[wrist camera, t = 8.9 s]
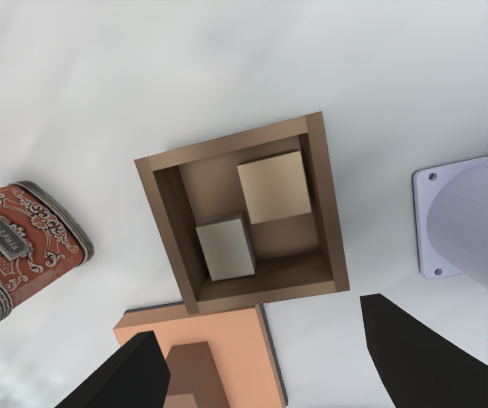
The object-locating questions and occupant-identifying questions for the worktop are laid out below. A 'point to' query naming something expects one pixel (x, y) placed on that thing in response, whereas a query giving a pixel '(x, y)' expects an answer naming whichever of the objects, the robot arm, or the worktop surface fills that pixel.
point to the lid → (211, 356)
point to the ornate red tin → (35, 243)
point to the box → (249, 216)
